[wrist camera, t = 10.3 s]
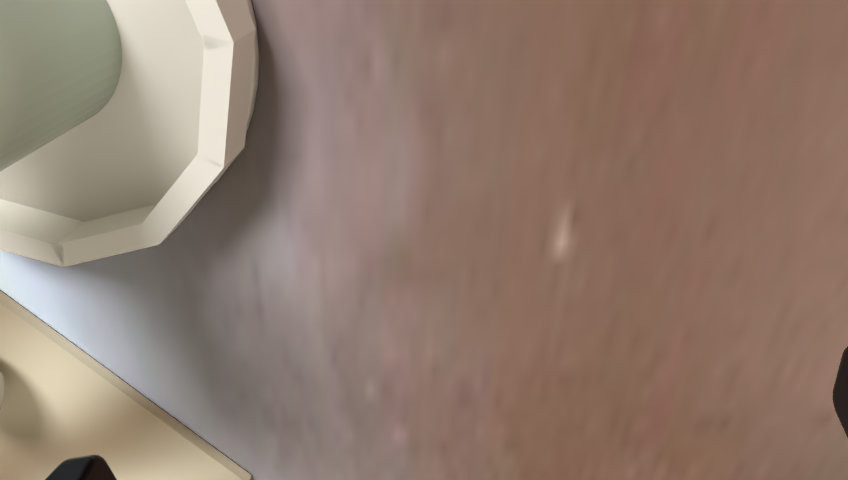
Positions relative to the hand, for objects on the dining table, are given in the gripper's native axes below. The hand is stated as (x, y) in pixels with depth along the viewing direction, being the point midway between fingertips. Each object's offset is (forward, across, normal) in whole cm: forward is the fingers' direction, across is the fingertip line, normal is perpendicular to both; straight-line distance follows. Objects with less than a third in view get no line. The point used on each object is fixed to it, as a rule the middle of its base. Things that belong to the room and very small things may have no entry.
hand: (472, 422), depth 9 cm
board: (+13, +16, +14) cm, 25 cm away
